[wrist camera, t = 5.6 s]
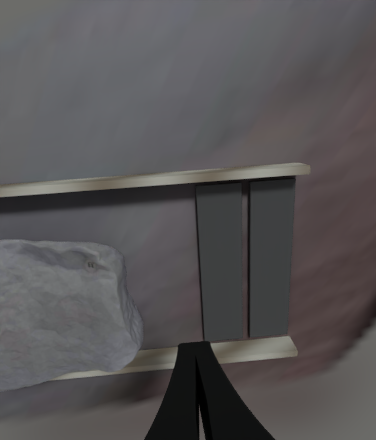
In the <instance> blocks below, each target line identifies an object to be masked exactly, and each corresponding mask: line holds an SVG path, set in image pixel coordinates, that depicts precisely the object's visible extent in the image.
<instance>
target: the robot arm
mask: <svg viewBox="0 0 376 440" xmlns="http://www.w3.org/2000/svg"><path fill="white" fill-rule="evenodd" d="M199 406H200V412H201V417H202V423H203V428H204V433H205V439H206V440H275V439H274V438H273V437H272V436H271V434H270V433H269V432H268V431H267V430H266V429H265V428H264V427H263V426H262V424H261V423H260V422H259V421H258V420H257V419H256V417H255V416H254V415H253V414H252V412H251V411H250V410H249V409H248V407H247V406H246V405H245V403H244V402H243V401H242V399H241V398H240V396H239V395H238V393H237V392H236V390H235V389H234V388H233V386H232V384H231V383H230V381H229V380H228V378H227V376H226V375H225V373H224V371H223V370H222V368H221V366H220V364H219V362H218V360H217V358H216V356H215V354H214V352H213V350H212V347H211V344H210V342H208V341H201V342H191V343H180V344H179V345H178V351H177V357H176V362H175V366H174V369H173V373H172V376H171V379H170V382H169V385H168V388H167V391H166V393H165V396H164V398H163V401H162V404H161V406H160V408H159V411H158V413H157V415H156V417H155V419H154V422H153V424H152V426H151V428H150V430H149V431H148V434H147V435H146V437H145V439H144V440H199Z"/></svg>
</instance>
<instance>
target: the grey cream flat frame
mask: <svg viewBox="0 0 376 440" xmlns="http://www.w3.org/2000/svg"><path fill="white" fill-rule="evenodd" d="M302 174H310V165H306V164H302V163H288V164H274V165H261V166H247V167H234V168H220V169H207V170H193V171H180V172H166V173H152V174H139V175H125V176H112V177H98V178H85V179H71V180H58V181H44V182H31V183H17V184H3V185H0V197H10V196H23V195H37V194H50V193H63V192H76V191H90V190H103V189H116V188H129V187H143V186H156V185H169V184H183V183H196V182H209V181H222V180H236V179H249V178H262V177H275V176H289V175H302ZM211 347H212V350H213V352H214V354H215V356H216V358H217V360H218V362H219V364H222V363H233V362H243V361H253V360H263V359H273V358H283V357H293V356H297V354H298V350H297V349H296V347H295V345H294V344H293V342H292V340H291V338H290V337H289V336H285V337H275V338H264V339H254V340H243V341H233V342H222V343H212V344H211ZM177 351H178V347H170V348H160V349H150V350H139V351H138V353H137V355H136V356H135V358H134V359H133V361H131V362H130V363H129V364H127V365H126V366H125V367H124V368H123V369H121V370H118V371H115V372H105V371H100V370H96V369H92V370H88V371H75V372H71V373H67V374H64V375H61V376H58V377H55V378H53V379H51V380H60V379H70V378H81V377H91V376H101V375H111V374H121V373H131V372H141V371H151V370H162V369H172V368H174V366H175V362H176V357H177ZM48 381H50V380H48Z"/></svg>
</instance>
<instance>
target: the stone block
mask: <svg viewBox="0 0 376 440" xmlns="http://www.w3.org/2000/svg"><path fill="white" fill-rule="evenodd" d="M143 325H144V324H143V321H142V318H141V316H140V314H139V312H138V309H137V307H136V305H135V304H134V301H133V299H132V297H131V295H130V294H129V293H128V290H127V287H126V268H125V264H124V257H123V255H122V253H120V252H119V251H117V250H116V249H115V248H113V247H111V246H108V245H102V244H98V243H94V242H56V241H29V240H24V239H22V240H7V239H5V240H0V392H3V391H8V390H15V389H19V388H22V387H28V386H32V385H35V384H39V383H42V382H45V381H48V380H51V379H53V378H55V377H58V376H61V375H64V374H67V373H71V372H75V371H88V370H92V369H96V370H100V371H105V372H115V371H118V370H121V369H123V368H124V367H125V366H126V365H127V364H129V363H130V362H131V361H133V359H134V358H135V356H136V355H137V353H138V351H139V349H140V347H141V346H142V344H143Z"/></svg>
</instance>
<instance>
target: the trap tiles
mask: <svg viewBox="0 0 376 440" xmlns="http://www.w3.org/2000/svg"><path fill="white" fill-rule="evenodd" d="M295 181H296V179H295V178H289V179H276V180H262V181H249V336H250V337H260V336H271V335H281V334H287V331H288V312H289V293H290V275H291V256H292V237H293V219H294V200H295ZM196 202H197V219H198V236H199V254H200V271H201V289H202V306H203V324H204V340H205V341H218V340H229V339H239V338H243V331H242V183H241V182H236V183H223V184H210V185H196Z"/></svg>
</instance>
